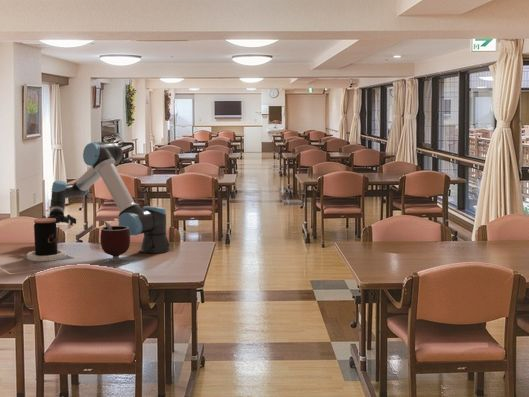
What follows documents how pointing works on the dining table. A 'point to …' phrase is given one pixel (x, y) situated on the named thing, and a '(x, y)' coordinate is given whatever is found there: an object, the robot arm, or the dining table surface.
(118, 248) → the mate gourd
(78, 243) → the dining table surface
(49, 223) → the coffee jar
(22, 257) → the mat
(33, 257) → the dish
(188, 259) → the dining table surface
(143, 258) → the dining table surface
